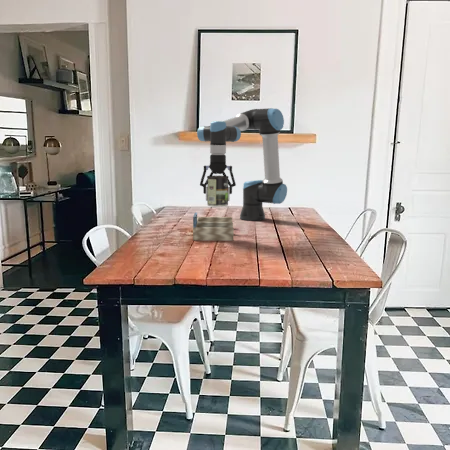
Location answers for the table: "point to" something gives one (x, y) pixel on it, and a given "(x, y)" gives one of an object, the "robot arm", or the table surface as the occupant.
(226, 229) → the organizer
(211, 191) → the coffee can
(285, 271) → the table surface
